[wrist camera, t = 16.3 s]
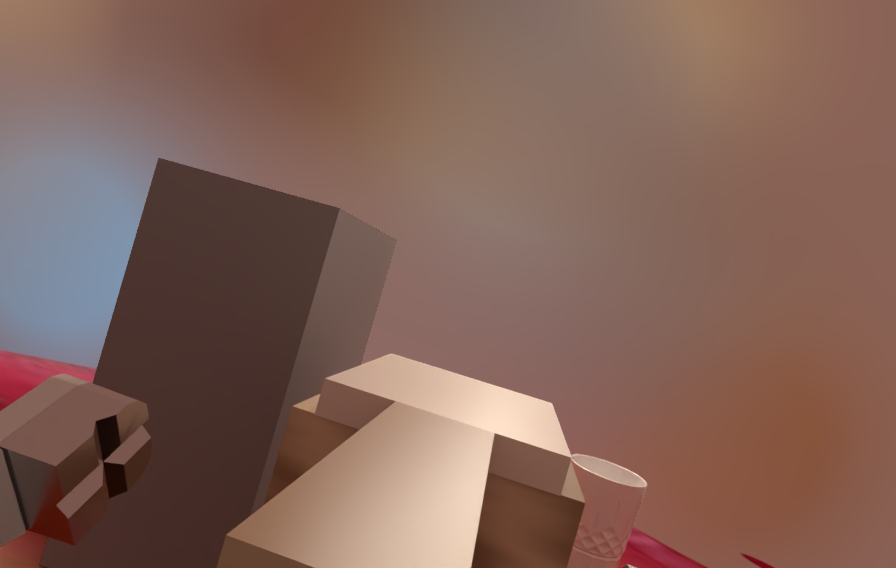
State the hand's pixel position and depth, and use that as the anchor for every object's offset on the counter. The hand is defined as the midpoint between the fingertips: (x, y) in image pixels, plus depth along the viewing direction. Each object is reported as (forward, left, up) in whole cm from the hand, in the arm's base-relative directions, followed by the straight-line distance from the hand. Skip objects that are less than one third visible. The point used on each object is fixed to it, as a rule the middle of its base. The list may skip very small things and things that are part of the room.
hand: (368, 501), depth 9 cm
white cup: (+15, +51, -20) cm, 57 cm away
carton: (-16, +31, -20) cm, 40 cm away
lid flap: (0, +12, -3) cm, 12 cm away
